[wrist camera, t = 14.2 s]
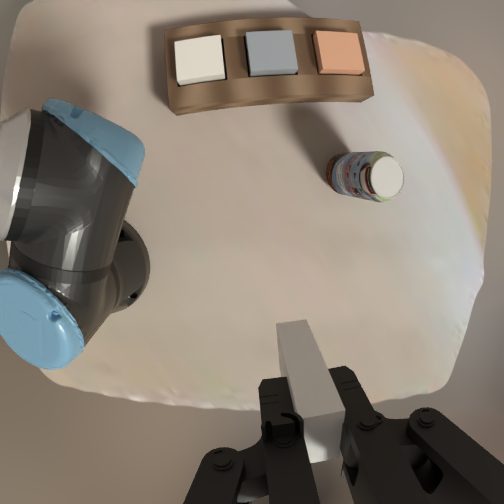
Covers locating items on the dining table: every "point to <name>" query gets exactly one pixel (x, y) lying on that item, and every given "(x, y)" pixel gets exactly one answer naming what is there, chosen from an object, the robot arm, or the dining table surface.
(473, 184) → the dining table surface
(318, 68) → the terracotta key
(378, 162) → the beverage can
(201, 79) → the offwhite key
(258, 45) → the slate key
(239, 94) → the console
